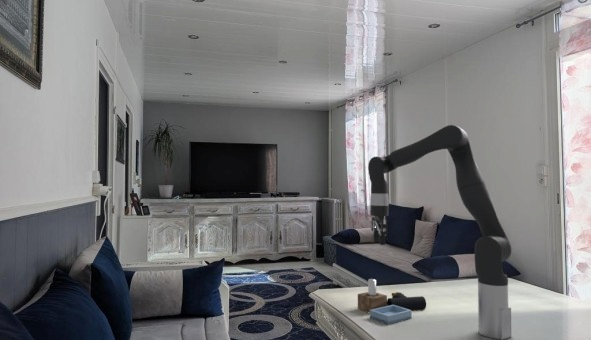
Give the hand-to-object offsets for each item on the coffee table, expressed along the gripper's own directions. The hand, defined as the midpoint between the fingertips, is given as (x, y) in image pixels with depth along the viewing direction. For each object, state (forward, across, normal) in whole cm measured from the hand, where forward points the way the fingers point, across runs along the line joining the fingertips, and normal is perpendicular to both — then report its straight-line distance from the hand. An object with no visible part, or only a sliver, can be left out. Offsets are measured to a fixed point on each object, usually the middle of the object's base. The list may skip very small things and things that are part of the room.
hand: (379, 243), depth 168 cm
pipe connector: (+27, 0, -10) cm, 29 cm away
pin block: (+26, -3, +4) cm, 27 cm away
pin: (+26, -3, +4) cm, 27 cm away
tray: (+26, -14, 0) cm, 30 cm away
